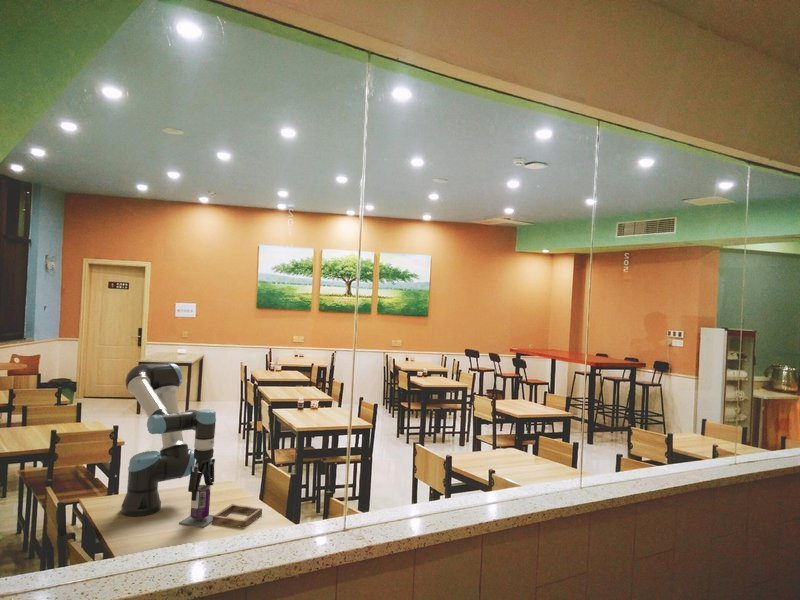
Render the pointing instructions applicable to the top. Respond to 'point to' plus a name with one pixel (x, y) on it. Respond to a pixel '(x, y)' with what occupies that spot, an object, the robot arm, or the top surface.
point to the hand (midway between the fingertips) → (200, 504)
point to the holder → (222, 519)
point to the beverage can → (202, 503)
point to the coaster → (197, 521)
